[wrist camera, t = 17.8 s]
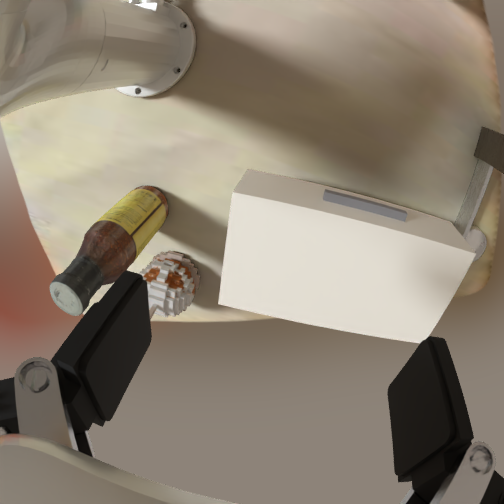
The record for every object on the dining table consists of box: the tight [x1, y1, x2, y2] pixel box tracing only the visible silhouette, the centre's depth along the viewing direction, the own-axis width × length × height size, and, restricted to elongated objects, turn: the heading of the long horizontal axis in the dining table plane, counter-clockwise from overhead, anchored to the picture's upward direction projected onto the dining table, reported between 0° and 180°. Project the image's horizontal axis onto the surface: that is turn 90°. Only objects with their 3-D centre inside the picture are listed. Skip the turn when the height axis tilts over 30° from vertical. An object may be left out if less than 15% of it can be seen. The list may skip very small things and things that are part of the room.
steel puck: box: [465, 225, 486, 262], centre depth 34 cm, size 5×5×2 cm
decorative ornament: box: [140, 251, 200, 319], centre depth 39 cm, size 8×8×15 cm
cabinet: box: [218, 169, 476, 343], centre depth 32 cm, size 13×23×12 cm, turn 81°
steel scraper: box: [454, 127, 504, 239], centre depth 29 cm, size 18×2×8 cm, turn 171°
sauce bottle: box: [50, 186, 168, 316], centre depth 32 cm, size 7×6×20 cm
